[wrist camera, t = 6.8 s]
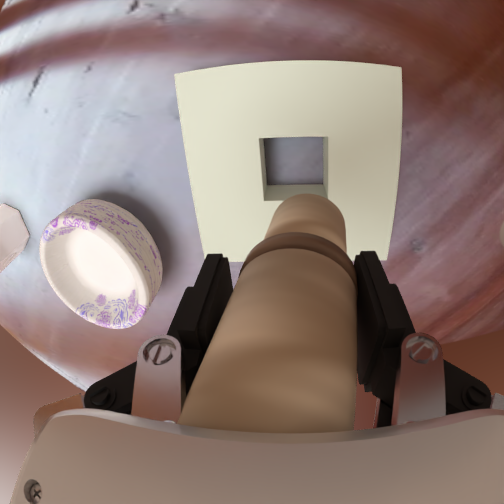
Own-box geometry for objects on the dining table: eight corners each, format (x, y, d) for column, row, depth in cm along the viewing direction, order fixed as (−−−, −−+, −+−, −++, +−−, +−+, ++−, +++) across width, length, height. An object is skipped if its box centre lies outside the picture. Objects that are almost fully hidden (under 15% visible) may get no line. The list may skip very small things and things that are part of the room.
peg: (355, 188, 12) (366, 513, 3) (348, 266, 15) (328, 521, 5) (261, 185, 13) (114, 456, 4) (267, 261, 16) (183, 493, 6)
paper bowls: (115, 162, 28) (72, 189, 22) (196, 262, 34) (176, 308, 28) (57, 227, 34) (23, 258, 28) (124, 303, 40) (101, 341, 34)
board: (385, 68, 20) (401, 67, 17) (377, 239, 30) (386, 259, 26) (189, 74, 23) (174, 74, 19) (214, 241, 32) (205, 261, 29)
